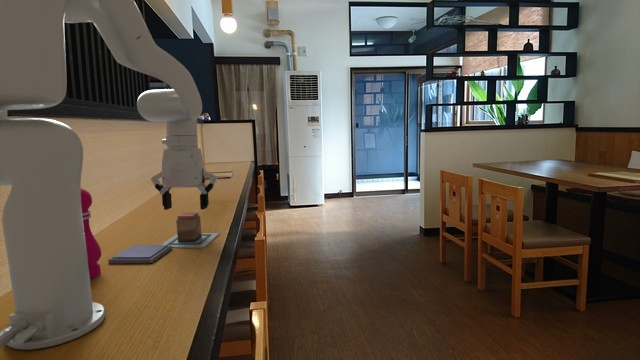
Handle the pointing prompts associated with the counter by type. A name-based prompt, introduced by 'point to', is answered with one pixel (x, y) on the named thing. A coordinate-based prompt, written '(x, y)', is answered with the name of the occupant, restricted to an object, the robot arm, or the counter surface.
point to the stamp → (188, 227)
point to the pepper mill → (90, 236)
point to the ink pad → (140, 254)
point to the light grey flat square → (199, 243)
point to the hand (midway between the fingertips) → (185, 208)
